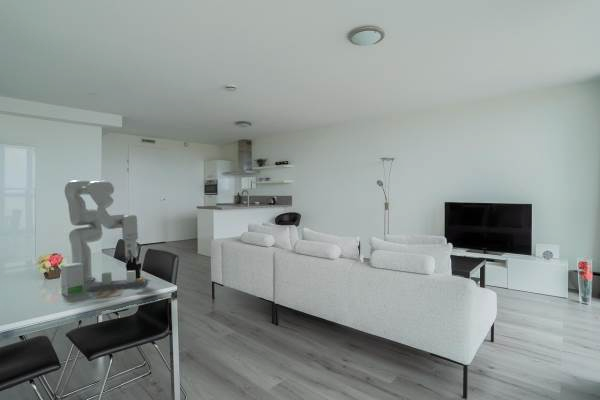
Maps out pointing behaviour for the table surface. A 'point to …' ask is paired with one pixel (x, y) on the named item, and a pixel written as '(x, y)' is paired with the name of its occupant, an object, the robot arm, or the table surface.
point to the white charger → (131, 276)
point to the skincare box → (72, 279)
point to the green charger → (106, 278)
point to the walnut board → (109, 293)
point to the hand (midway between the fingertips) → (131, 267)
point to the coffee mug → (136, 269)
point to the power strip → (117, 284)
